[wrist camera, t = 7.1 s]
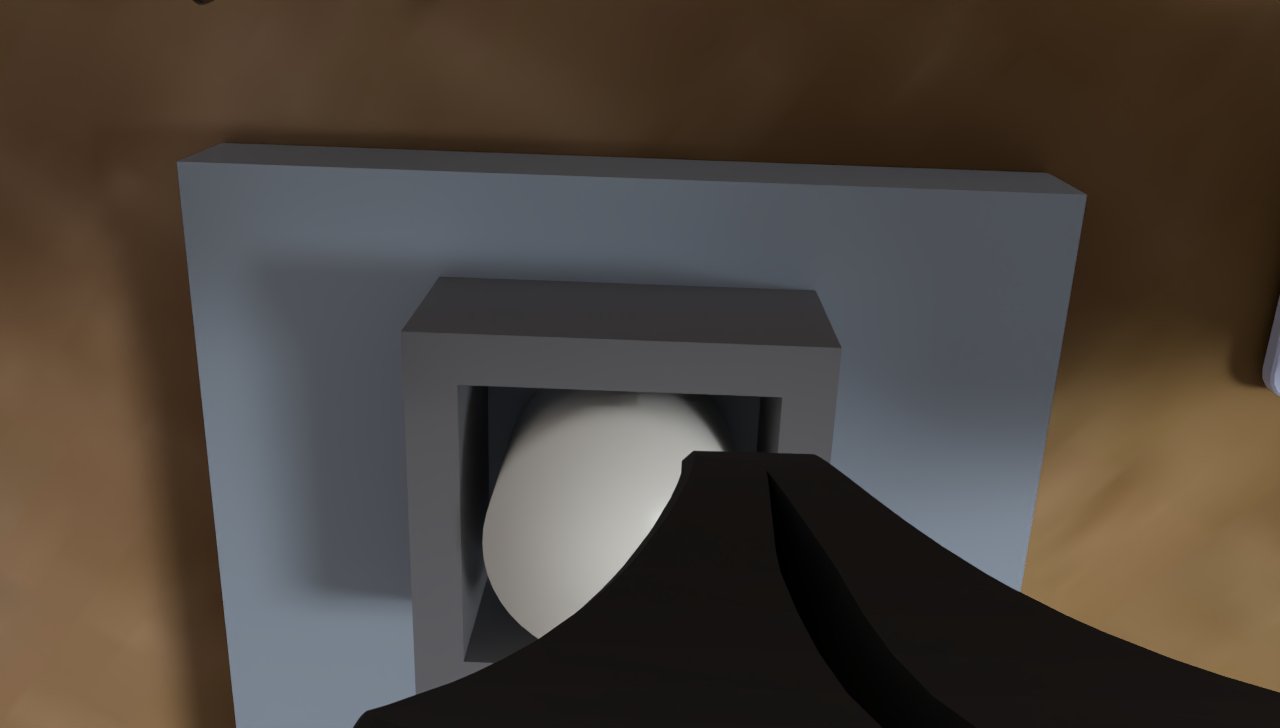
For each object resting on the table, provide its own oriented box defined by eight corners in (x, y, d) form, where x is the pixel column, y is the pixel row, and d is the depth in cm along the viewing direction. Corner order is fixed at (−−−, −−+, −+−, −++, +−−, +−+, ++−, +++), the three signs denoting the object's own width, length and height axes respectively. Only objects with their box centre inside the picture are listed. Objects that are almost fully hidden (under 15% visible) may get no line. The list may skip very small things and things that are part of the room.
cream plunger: (741, 362, 19) (755, 432, 16) (727, 569, 21) (738, 666, 18) (507, 354, 19) (480, 421, 16) (508, 560, 21) (484, 656, 18)
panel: (1048, 172, 20) (1162, 237, 16) (919, 1002, 27) (972, 1220, 23) (221, 142, 21) (90, 197, 16) (297, 976, 27) (221, 1188, 23)
